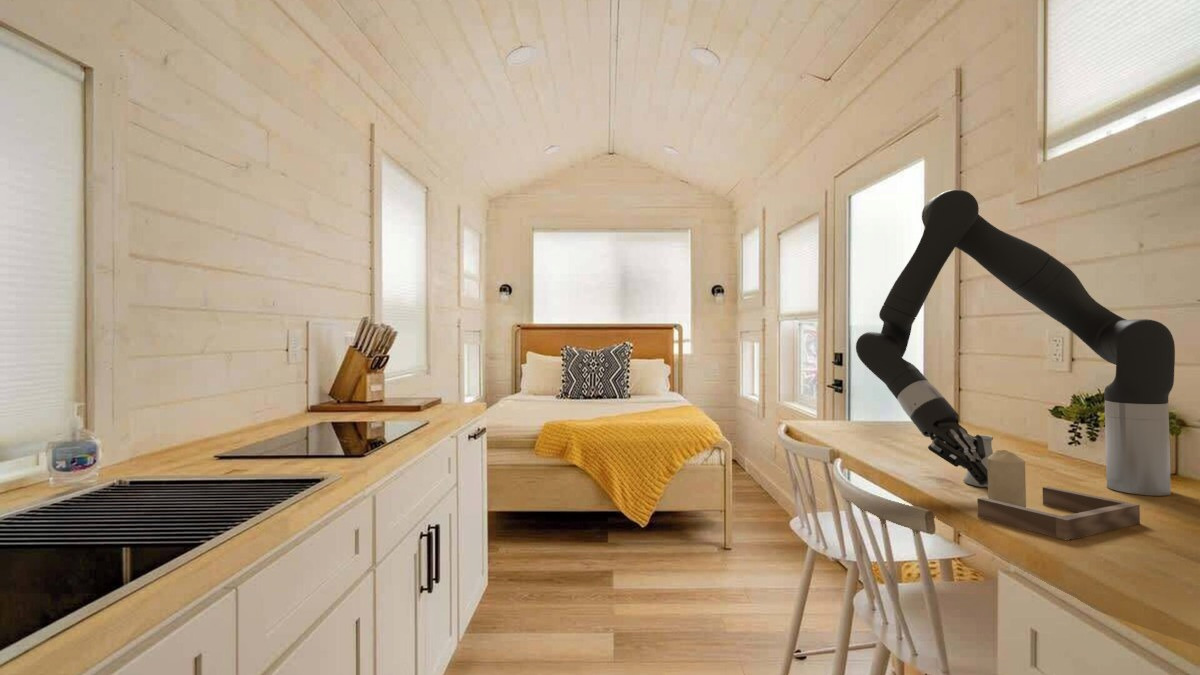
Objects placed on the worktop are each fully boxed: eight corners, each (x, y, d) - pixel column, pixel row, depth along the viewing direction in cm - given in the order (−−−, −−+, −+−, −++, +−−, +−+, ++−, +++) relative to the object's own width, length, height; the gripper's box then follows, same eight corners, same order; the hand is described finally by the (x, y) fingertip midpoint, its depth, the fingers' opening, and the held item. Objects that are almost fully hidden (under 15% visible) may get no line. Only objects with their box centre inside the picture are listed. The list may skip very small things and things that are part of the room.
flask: (956, 480, 125) (955, 433, 125) (991, 480, 124) (990, 433, 124) (977, 489, 117) (976, 439, 117) (1014, 488, 117) (1013, 438, 117)
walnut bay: (1048, 502, 106) (1047, 486, 107) (1139, 523, 94) (1139, 504, 94) (977, 516, 99) (977, 498, 99) (1067, 540, 87) (1067, 520, 87)
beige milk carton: (1033, 512, 101) (1031, 454, 101) (998, 511, 102) (997, 453, 102) (1014, 503, 106) (1013, 448, 106) (982, 503, 107) (980, 448, 107)
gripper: (914, 397, 113) (977, 474, 102) (962, 394, 118) (1026, 467, 107) (891, 421, 118) (949, 497, 107) (938, 417, 123) (997, 489, 112)
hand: (987, 482), depth 107 cm, fingers closed
